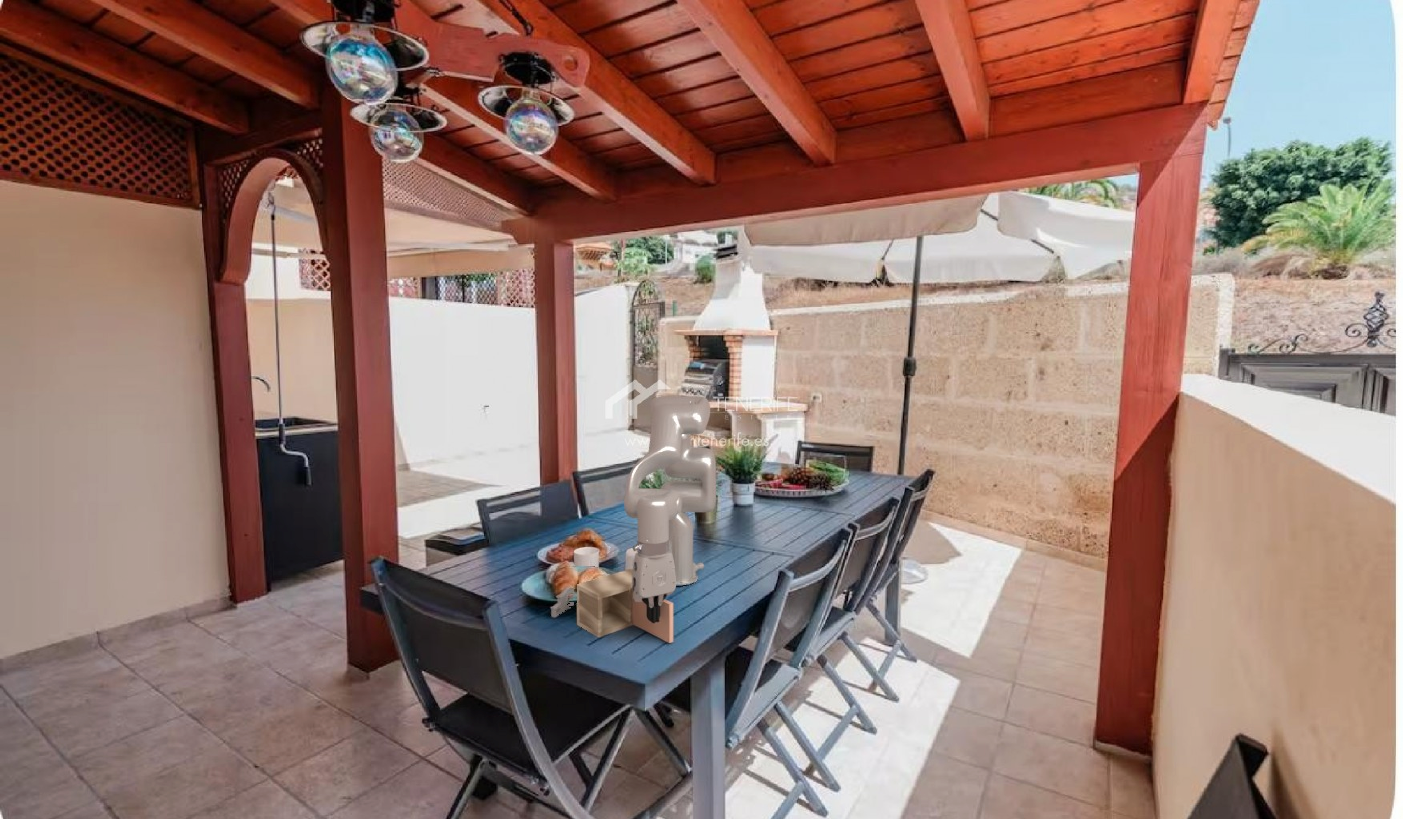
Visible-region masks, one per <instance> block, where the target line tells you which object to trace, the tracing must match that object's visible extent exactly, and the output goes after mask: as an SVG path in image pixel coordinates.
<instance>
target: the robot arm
mask: <svg viewBox="0 0 1403 819" xmlns="http://www.w3.org/2000/svg"><path fill="white" fill-rule="evenodd" d="M650 412H651V415H652V422H651V430H650V437H649V444H648V445H649V446H648V452H647V453H646V454H644V456H642V457H641V458H640V459H639V460H638V461H637V462H636V463H635V465H634V466H633V467H632V468H631V470H630V473H629V474H628V476H627V481H626V486H625V492H624V500H623V501H624V503H623V505H624V512H625V514H626V515H627V516H628V517H629V518H633V519H637V540H636V545H633V546H632V548H633V551H637V552H638V553H636V554H635V558H634V564H633V572H632V591H633V592H634V593H633V600H634V601H635V602H644V603H645V604H646V607H647V619H648V620H649V621H651V622H652V623H656V622H659V617H660V606H661V605H662V603H663V600H664V599H665V600H666V598H667V597H668V596H670V595H671V594H674V592H675V590H676V588H677V587H676V585H686V584H690V583H693V582H696V581H697V579H698V580H699V576H698V574H697V573H696V572H697V571H698V570H702V569H704V568H705V565H704V562H699V563H697V564H696V563H695V562H694V525H693V522H692V520H691V518H690V517H689V516H688V514H687V513H709V512H712V511H714V509H715V507H716V502H717V466H716V457H715V456H716V455H715V454H714V451H713V450H712V449H710V448H707V447H693V446H692V441H691V440H692V438H691V437H692V435H694V436H695V435H697V436H698V435H701V434H703V433H704V432H705V431H706V428H707V426H708V422H709V420H710V416H711V404H710V402H709V399H708V398H707V397H705V396H694V395H693V396H692V395H691V396H690V395H688V396H687V395H685V396H684V395H660V396H657V397H654V398H653V399H652V400H651V402H650ZM662 469H664V473H665V475H666V476H667V477H670V478H674V479H698V480H697V481H696V480H670V481H667V482H665V483H663V484H662V485H661V486H660V488H645V487H644V488H643V487H642V488H639V487H640V484H641V482H642V481H644V479H645V478H646V477H648V476H649V475H651V474H653V473H656V472H658V471H660V470H662ZM697 582H698V581H697ZM697 582H696V583H697Z"/></svg>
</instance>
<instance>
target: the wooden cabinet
mask: <svg viewBox="0 0 1403 819" xmlns="http://www.w3.org/2000/svg"><path fill="white" fill-rule="evenodd" d="M632 572H633V568H632V569H629V570H622V571H619V572H615V573H612V574H611V573H610V574H609V575H608V574H607V575H605V576H602V577H598V578H597V579H593V580H590V581H586V582H583V583H579V584H577V603H576V625H577V626H578V627H579V628H581V627H582V629H583V630H585V631H586V630H587V632H588V633H590V634H591V635H593V636H595V637H596V638H601V637H604V636H607V635H610V634H613V633H615V632H618V631H620V630H624V629H627V628H629V627H631V626H635V625H634V624H633V620H632Z"/></svg>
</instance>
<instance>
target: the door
mask: <svg viewBox="0 0 1403 819" xmlns="http://www.w3.org/2000/svg"><path fill="white" fill-rule="evenodd" d="M633 593H634V592H633V591H632V620H633V624H634V625H633V626H635V627H637V628H639V629H641V630H644V631H645V632H647V633H649V634H651V635H653V636H655V637H657V638H659V639H661V640H662V641H664V642H665V643H667V644H670V643H674V602H672V601H669V600H668V599H666V598H665V599H664V600H663V603H662V605H661V606H660V617H659V622H656V623H652V622H651V621H649V620H648V619H647V607H646V604H645V603H644V602H635V601H634V600H633Z"/></svg>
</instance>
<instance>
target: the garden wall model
mask: <svg viewBox="0 0 1403 819" xmlns="http://www.w3.org/2000/svg"><path fill="white" fill-rule="evenodd" d="M571 587H572V586H566V587H565V588H564V589H563V590H562V591H561V592H560V593H559V594H557V595H556V596H555V597H556V598H557V603H555V604H553V606H550V607H549V608H550V610H551V612H550V614H551V618H557V617H559V616H560V615H561V614H563V613H565V612H566V611H567V610H570V609H571V607H569V606H573V607H574V606H575V605H574V602H569V600H568V598H569V597H568V596H569V595H570V594H574V593H573V591H574V589H575V588H571ZM568 603H570V604H568ZM567 604H568V605H567ZM565 610H566V611H565ZM562 612H563V613H562ZM559 614H560V615H559Z"/></svg>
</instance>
